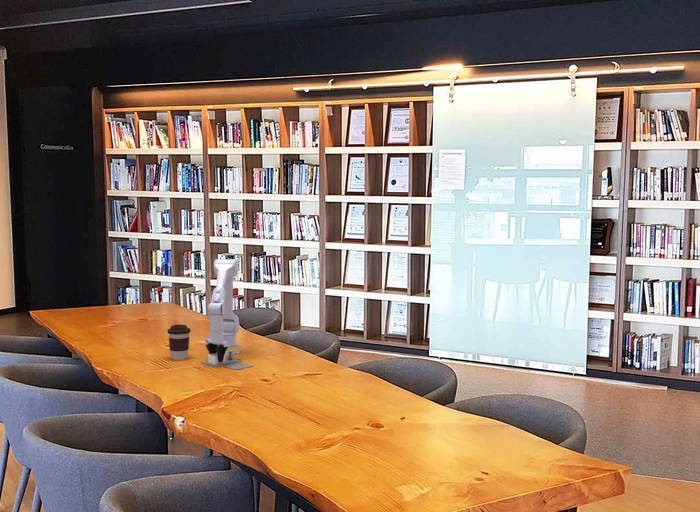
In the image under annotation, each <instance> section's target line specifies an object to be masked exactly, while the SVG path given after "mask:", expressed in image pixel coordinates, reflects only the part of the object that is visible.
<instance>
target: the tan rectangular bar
mask: <svg viewBox="0 0 700 512" xmlns="http://www.w3.org/2000/svg"><path fill="white" fill-rule="evenodd" d="M241 350H242V351H243V345H242V344H236V345H233V346H229V347H228V348H227V350H226V352H225V353H227V352H233V351H238V352H239V351H241Z"/></svg>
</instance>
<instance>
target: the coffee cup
mask: <svg viewBox="0 0 700 512" xmlns="http://www.w3.org/2000/svg"><path fill="white" fill-rule="evenodd" d="M190 333H191V328H190V327H188V325H186V324H173V325H171V326H170V327H169V328H168V329H167V334H168V344H169V346H168V347H169V352H170V359H171V360H173V361H183V360H187V359H188V358H189V357H188V356H189V347H190Z"/></svg>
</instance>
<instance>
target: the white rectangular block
mask: <svg viewBox="0 0 700 512" xmlns="http://www.w3.org/2000/svg"><path fill="white" fill-rule="evenodd" d="M226 357H227V355H226V354H225V355H224V359H223V362H226ZM207 361H208V363H212V364H218V363H223V362H218V358H217V353H213V354H209V353H208V354H207Z"/></svg>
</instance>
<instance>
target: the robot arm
mask: <svg viewBox="0 0 700 512" xmlns="http://www.w3.org/2000/svg"><path fill="white" fill-rule="evenodd" d="M213 271H214V273H215V275H216V276H217V277H216V287H215V288H214V289H213V290H212V295H211V300H210V303H209V304H207V305H208V306H207V314H208V320H209V337H204V343H205V347H206V349H207V351H208V354H213V353H217V358H218V362H223V359H224V355H225V354H226V356H228V352H227V353H225V352H226V350H227V348H228V347H229V346H233V345H237V341H236V340H237V334H238V333H239V331H240V320H239V319H240V318H239V316H238V315H236V314H235V313H234V303H233V302H234V288H233V287H234V278H235V277H238V261H237V259H235V258H234V259H226V258H225V259H224V258H223V259H220V258H219V259H218V258H215V259H214V261H213ZM236 353H237V354H240V353H241V352H240V351H239V350H238V351H233V355H236Z"/></svg>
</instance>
